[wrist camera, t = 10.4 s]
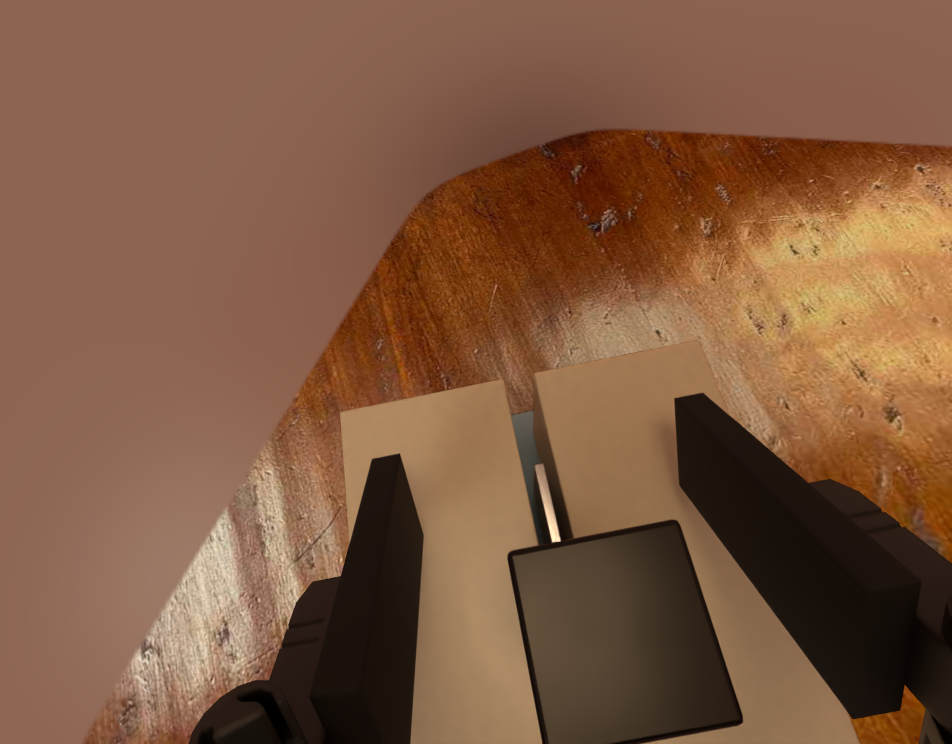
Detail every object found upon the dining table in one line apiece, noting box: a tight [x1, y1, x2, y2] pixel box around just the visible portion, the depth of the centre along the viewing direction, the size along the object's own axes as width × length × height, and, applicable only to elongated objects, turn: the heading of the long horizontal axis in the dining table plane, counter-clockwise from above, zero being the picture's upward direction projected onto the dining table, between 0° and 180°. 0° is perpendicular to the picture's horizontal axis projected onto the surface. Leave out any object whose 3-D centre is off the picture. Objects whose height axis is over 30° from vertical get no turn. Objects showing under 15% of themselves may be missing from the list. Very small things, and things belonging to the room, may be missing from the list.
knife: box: [507, 463, 743, 744], centre depth 13 cm, size 8×2×15 cm, turn 10°
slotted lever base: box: [340, 340, 860, 744], centre depth 17 cm, size 16×14×8 cm
